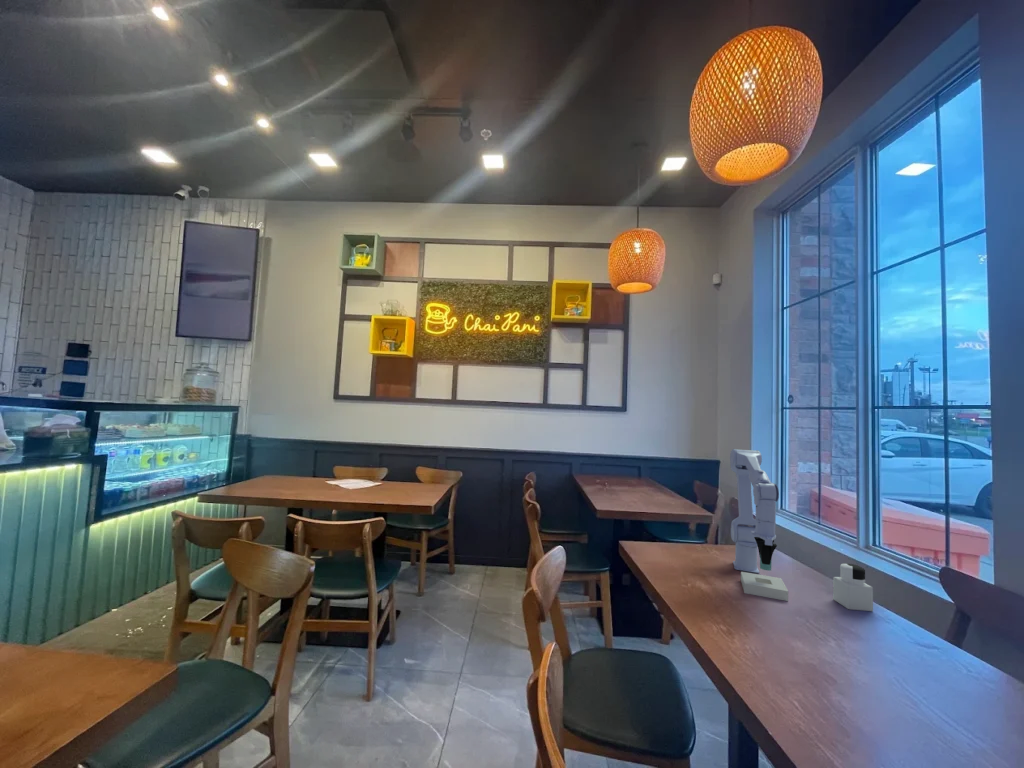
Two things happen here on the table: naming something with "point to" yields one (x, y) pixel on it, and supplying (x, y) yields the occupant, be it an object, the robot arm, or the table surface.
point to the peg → (765, 565)
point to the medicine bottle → (852, 588)
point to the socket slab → (764, 586)
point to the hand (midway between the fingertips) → (765, 562)
